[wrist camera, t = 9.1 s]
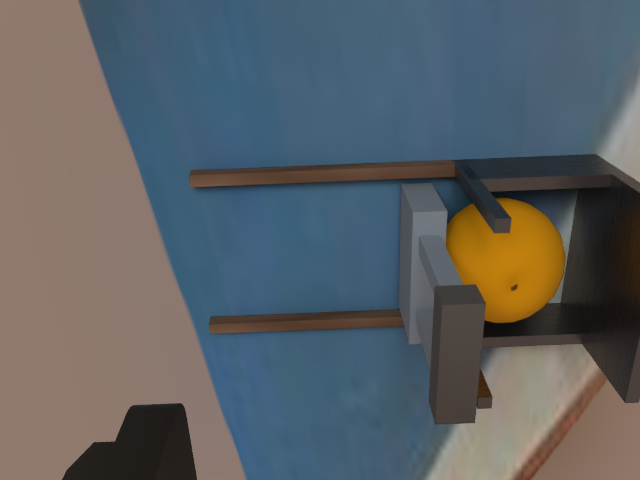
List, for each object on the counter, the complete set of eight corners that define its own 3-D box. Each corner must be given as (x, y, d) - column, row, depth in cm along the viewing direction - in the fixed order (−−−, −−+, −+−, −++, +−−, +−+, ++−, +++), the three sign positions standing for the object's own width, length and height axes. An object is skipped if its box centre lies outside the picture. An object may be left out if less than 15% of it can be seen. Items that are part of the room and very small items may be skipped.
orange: (503, 303, 43) (539, 365, 36) (407, 265, 42) (426, 322, 35) (564, 210, 40) (616, 259, 33) (463, 165, 39) (496, 207, 32)
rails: (191, 170, 39) (188, 175, 38) (451, 160, 39) (455, 164, 38) (212, 326, 44) (210, 333, 43) (442, 317, 44) (445, 324, 43)
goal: (451, 160, 39) (495, 218, 30) (595, 154, 39) (683, 211, 29) (442, 317, 44) (477, 408, 35) (570, 311, 44) (638, 402, 34)
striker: (401, 183, 39) (443, 284, 27) (431, 182, 39) (487, 282, 27) (398, 304, 43) (434, 441, 30) (426, 303, 43) (473, 439, 30)
